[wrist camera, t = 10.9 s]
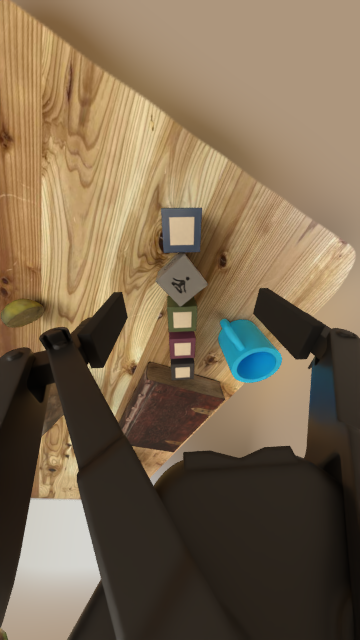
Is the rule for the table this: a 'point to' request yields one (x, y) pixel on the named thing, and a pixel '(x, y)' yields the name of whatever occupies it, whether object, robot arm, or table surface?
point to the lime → (21, 312)
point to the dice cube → (180, 279)
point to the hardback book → (168, 408)
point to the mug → (248, 351)
